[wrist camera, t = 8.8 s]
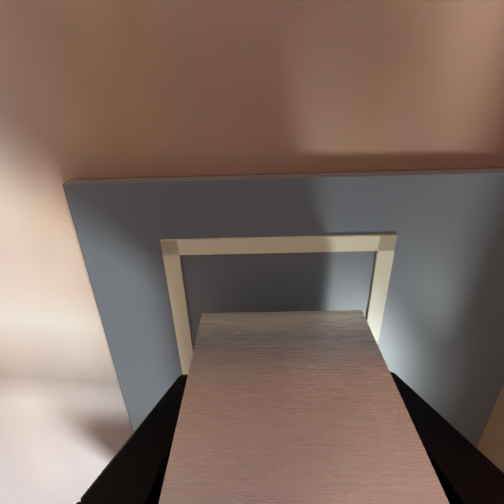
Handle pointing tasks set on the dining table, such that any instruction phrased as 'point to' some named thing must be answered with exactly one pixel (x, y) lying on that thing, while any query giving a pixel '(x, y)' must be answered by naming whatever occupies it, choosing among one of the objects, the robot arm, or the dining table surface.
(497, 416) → the corner tray
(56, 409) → the dining table surface
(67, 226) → the dining table surface
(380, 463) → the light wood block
